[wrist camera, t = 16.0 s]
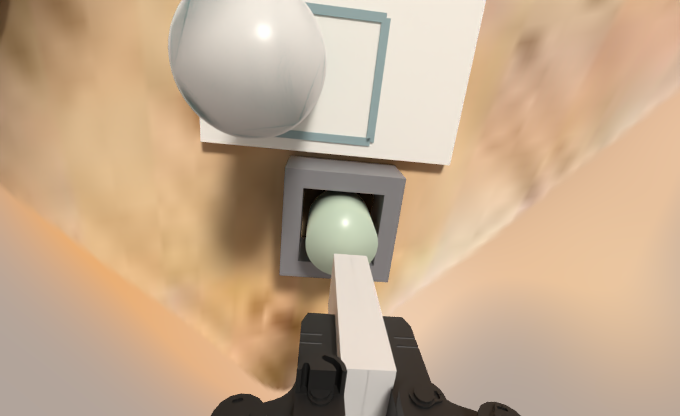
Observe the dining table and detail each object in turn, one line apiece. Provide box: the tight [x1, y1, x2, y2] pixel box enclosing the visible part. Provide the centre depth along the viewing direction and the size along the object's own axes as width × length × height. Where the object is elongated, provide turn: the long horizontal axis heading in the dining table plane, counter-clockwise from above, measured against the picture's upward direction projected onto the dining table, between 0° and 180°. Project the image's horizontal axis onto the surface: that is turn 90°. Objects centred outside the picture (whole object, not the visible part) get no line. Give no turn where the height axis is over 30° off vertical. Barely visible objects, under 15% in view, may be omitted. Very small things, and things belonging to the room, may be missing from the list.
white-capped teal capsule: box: [168, 0, 327, 139], centre depth 15 cm, size 4×4×11 cm
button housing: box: [280, 155, 406, 282], centre depth 22 cm, size 7×7×4 cm
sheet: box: [200, 0, 486, 165], centre depth 20 cm, size 16×12×1 cm
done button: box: [306, 190, 378, 275], centre depth 21 cm, size 4×4×4 cm
